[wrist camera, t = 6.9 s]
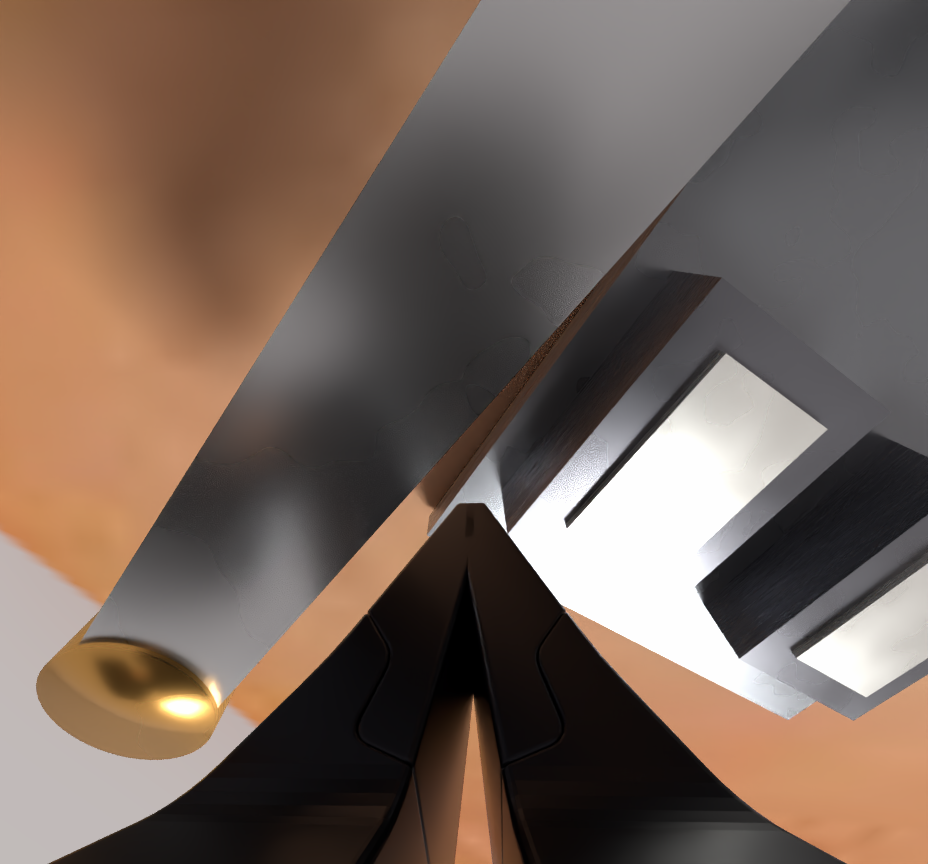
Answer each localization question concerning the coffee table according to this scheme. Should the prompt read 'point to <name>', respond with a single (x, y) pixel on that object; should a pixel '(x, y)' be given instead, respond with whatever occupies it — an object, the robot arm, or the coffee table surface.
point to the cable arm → (416, 329)
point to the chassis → (753, 399)
